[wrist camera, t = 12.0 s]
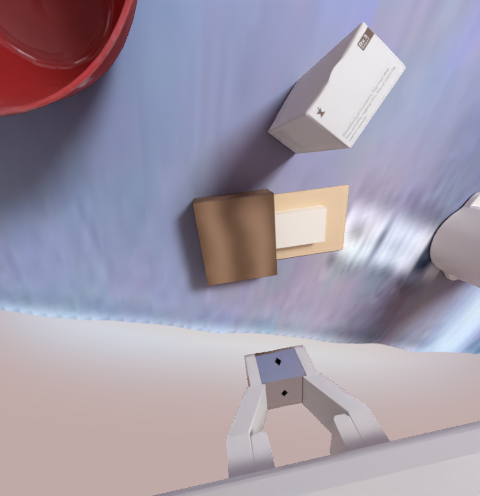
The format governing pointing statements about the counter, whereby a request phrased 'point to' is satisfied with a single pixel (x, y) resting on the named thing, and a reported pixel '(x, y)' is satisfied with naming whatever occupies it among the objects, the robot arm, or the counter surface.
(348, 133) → the skincare box
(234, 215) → the brown box
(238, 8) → the counter surface
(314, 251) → the mat
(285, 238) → the white rectangular prism
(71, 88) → the mixing bowl
